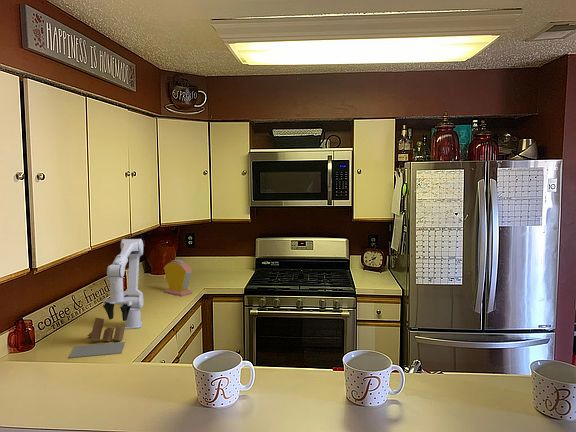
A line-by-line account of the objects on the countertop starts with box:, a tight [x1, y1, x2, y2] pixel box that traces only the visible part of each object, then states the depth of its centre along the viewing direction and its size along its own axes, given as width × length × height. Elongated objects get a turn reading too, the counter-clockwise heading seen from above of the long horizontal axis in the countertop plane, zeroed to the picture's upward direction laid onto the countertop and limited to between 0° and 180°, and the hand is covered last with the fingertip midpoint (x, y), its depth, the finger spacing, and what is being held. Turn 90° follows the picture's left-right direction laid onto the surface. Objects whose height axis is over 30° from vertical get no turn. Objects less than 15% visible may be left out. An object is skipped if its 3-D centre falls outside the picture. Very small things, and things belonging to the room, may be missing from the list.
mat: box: [68, 341, 126, 359], centre depth 204 cm, size 13×21×1 cm, turn 103°
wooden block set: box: [86, 317, 126, 343], centre depth 217 cm, size 18×9×10 cm, turn 76°
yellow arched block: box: [163, 259, 193, 297], centre depth 300 cm, size 22×9×22 cm, turn 53°
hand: (118, 319), depth 214 cm, fingers open, 7 cm apart
